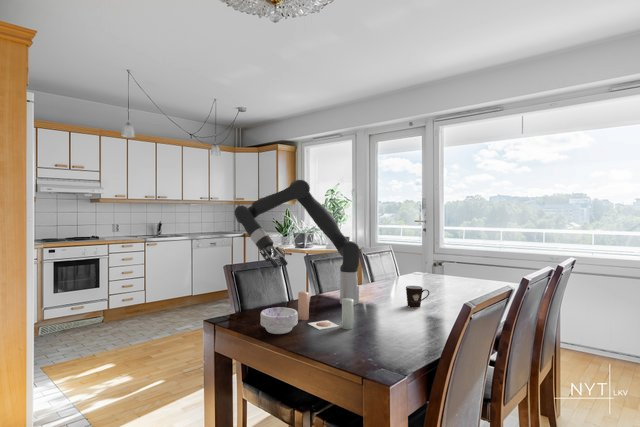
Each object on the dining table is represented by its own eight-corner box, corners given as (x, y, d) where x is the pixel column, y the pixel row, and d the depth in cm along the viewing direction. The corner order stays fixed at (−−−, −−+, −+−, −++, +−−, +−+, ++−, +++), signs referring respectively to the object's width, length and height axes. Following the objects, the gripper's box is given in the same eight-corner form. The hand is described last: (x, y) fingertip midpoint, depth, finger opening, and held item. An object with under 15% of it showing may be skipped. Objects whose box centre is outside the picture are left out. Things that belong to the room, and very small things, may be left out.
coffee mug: (404, 307, 205) (404, 287, 205) (407, 303, 213) (407, 285, 213) (427, 309, 201) (427, 289, 201) (429, 305, 209) (429, 286, 209)
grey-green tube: (348, 325, 172) (349, 297, 172) (355, 328, 168) (355, 300, 167) (339, 327, 169) (339, 298, 169) (345, 330, 165) (346, 301, 165)
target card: (327, 320, 179) (327, 319, 179) (339, 326, 170) (339, 325, 170) (307, 323, 174) (307, 322, 174) (319, 329, 165) (319, 328, 165)
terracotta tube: (305, 316, 185) (305, 291, 185) (310, 319, 181) (310, 293, 181) (296, 318, 182) (296, 292, 182) (301, 320, 178) (301, 294, 178)
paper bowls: (282, 339, 153) (282, 318, 153) (252, 332, 161) (252, 312, 161) (304, 329, 166) (305, 310, 166) (276, 323, 174) (276, 305, 174)
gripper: (258, 235, 183) (279, 262, 178) (274, 234, 196) (294, 259, 191) (248, 246, 185) (268, 273, 181) (264, 244, 198) (284, 269, 194)
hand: (281, 266), depth 186 cm, fingers open, 8 cm apart
